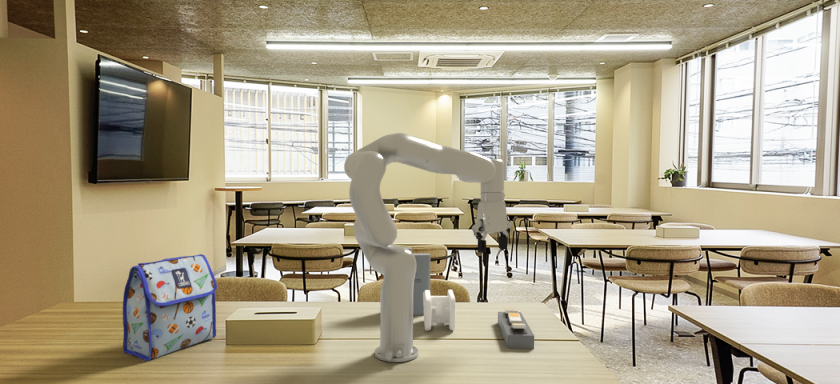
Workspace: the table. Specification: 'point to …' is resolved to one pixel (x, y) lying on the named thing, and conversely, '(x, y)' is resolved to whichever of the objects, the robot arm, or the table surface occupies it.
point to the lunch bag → (168, 306)
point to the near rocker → (518, 325)
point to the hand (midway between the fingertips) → (492, 250)
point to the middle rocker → (514, 317)
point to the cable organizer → (439, 309)
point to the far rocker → (511, 311)
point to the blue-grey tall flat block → (420, 281)
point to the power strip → (515, 333)
